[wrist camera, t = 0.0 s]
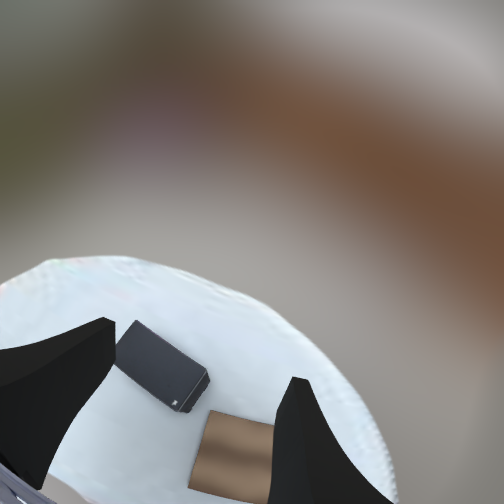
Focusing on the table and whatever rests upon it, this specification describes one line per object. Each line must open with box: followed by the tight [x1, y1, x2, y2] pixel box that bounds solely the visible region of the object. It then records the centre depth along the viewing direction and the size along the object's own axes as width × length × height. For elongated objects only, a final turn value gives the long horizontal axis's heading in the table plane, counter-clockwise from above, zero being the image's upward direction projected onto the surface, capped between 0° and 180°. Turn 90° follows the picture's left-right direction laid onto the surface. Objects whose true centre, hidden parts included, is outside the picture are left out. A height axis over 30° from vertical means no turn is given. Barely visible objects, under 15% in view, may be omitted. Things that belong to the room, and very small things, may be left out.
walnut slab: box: [188, 410, 274, 504], centre depth 34 cm, size 12×12×2 cm
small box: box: [114, 320, 210, 413], centre depth 35 cm, size 11×6×10 cm, turn 59°
